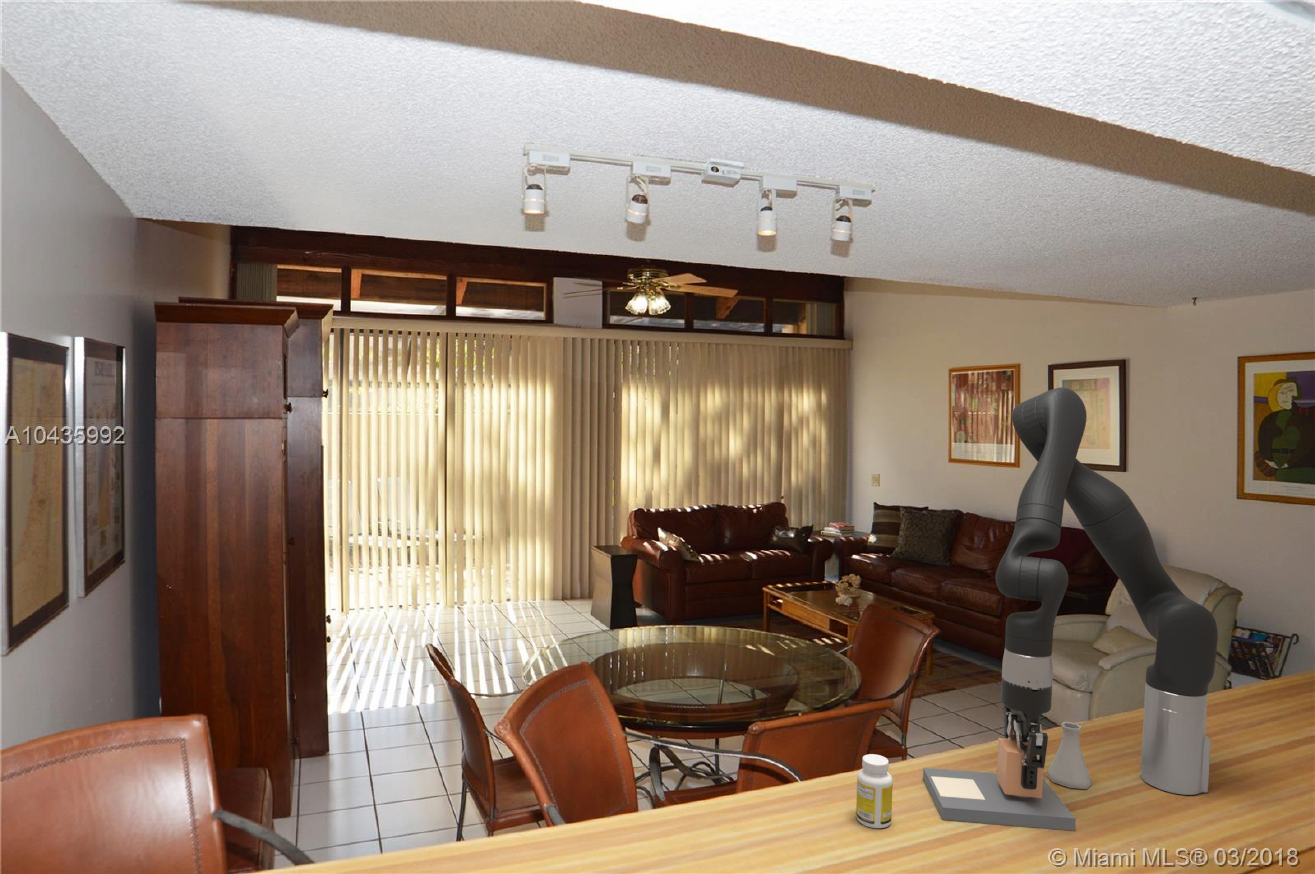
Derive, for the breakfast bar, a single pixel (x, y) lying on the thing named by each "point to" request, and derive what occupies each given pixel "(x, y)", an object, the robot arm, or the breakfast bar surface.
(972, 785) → the post board
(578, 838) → the breakfast bar surface
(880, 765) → the supplement bottle
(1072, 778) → the flask
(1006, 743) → the slotted tan cube
